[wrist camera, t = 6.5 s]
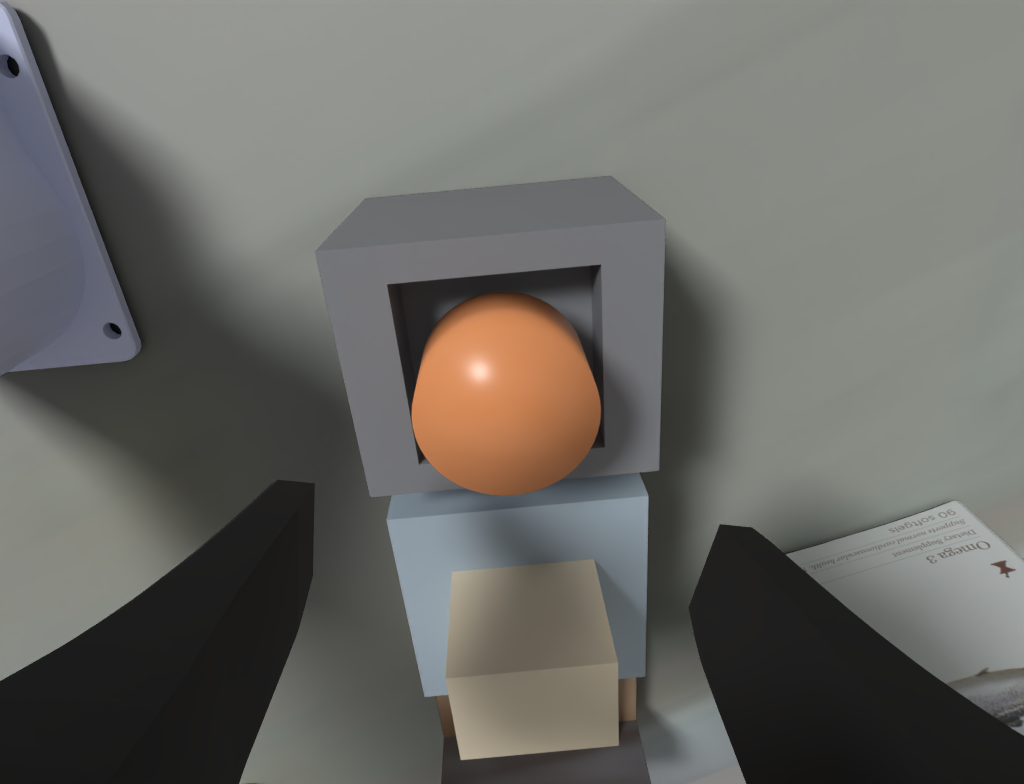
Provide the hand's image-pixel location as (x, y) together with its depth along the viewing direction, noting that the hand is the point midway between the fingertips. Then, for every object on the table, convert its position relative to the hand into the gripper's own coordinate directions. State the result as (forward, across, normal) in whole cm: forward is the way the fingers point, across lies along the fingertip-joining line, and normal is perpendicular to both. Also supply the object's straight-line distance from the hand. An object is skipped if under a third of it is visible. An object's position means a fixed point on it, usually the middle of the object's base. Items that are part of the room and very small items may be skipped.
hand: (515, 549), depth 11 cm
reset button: (+4, 0, -2) cm, 4 cm away
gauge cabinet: (+10, 0, -2) cm, 10 cm away
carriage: (+7, -2, +6) cm, 9 cm away
